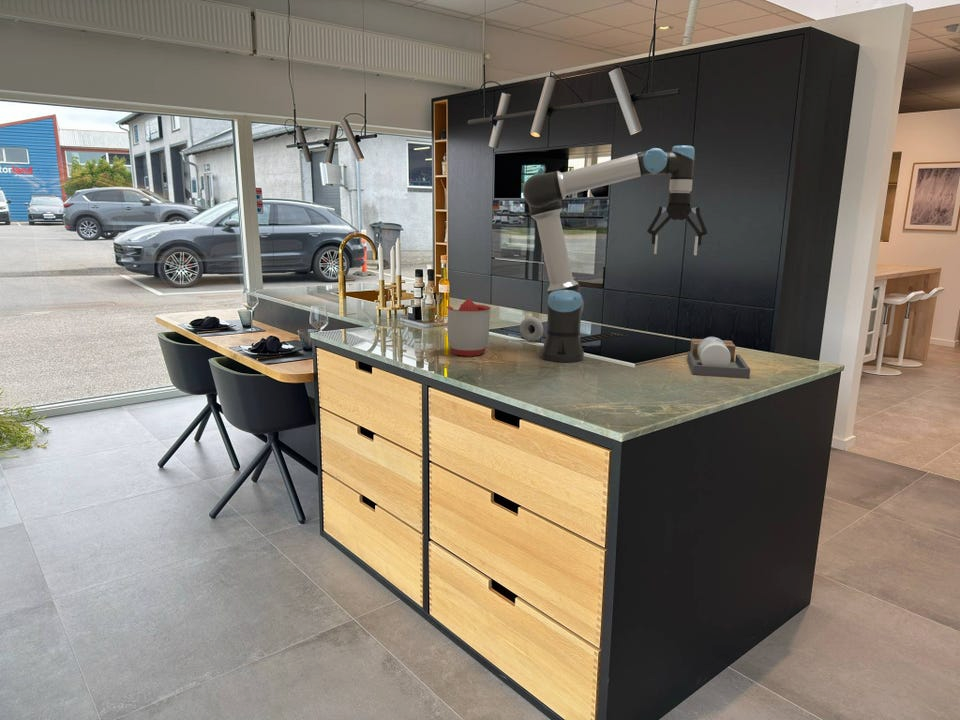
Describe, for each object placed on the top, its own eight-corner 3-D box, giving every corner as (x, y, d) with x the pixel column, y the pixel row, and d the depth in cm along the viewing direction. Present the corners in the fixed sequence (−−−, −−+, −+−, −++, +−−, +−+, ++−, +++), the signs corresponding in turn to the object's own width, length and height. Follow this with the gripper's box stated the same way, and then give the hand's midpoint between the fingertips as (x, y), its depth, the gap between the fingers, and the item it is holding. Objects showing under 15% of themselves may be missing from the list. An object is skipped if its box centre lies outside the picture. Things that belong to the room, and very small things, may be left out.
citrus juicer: (465, 346, 257) (466, 294, 253) (498, 354, 245) (499, 299, 241) (434, 352, 247) (434, 297, 242) (466, 360, 235) (467, 303, 230)
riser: (689, 354, 250) (691, 338, 249) (729, 356, 247) (731, 340, 246) (692, 360, 241) (693, 343, 239) (733, 363, 238) (735, 346, 237)
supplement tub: (731, 346, 233) (738, 355, 219) (714, 368, 236) (719, 378, 222) (707, 330, 233) (712, 338, 219) (690, 352, 236) (694, 362, 222)
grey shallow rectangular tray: (687, 359, 242) (687, 351, 241) (738, 362, 238) (739, 354, 237) (692, 374, 220) (693, 365, 220) (749, 378, 217) (750, 369, 216)
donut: (544, 342, 268) (545, 317, 266) (540, 343, 265) (541, 318, 263) (521, 339, 273) (522, 314, 271) (517, 340, 270) (518, 315, 268)
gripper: (716, 193, 235) (710, 254, 240) (642, 192, 240) (638, 252, 245) (719, 192, 228) (713, 256, 233) (643, 191, 233) (639, 253, 238)
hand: (675, 254), depth 239 cm, fingers open, 13 cm apart
